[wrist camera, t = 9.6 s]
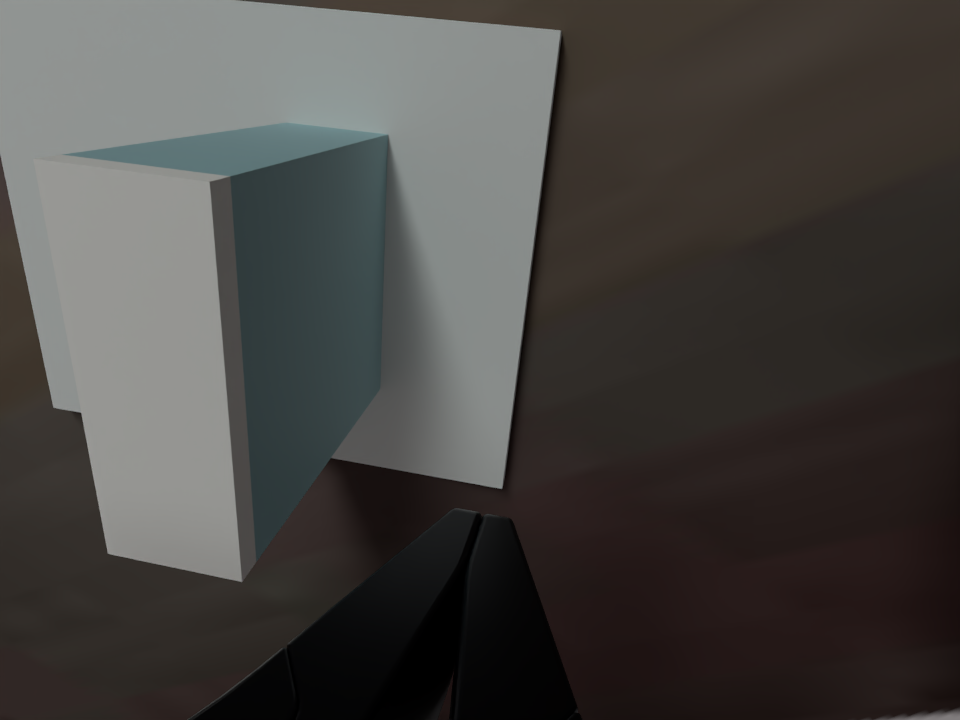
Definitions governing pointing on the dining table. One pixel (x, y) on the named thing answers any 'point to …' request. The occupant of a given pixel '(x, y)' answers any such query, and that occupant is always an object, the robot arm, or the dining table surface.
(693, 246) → the dining table surface
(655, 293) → the dining table surface
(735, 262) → the dining table surface
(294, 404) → the slab
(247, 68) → the mat
